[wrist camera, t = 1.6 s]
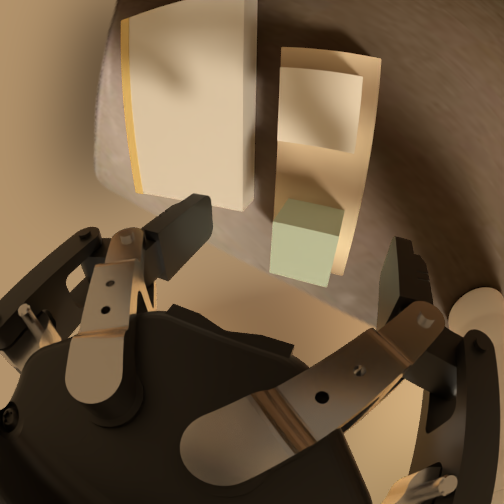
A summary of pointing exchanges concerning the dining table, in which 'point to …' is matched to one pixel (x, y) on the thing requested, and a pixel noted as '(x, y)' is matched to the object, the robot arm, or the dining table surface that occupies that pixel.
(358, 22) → the dining table surface
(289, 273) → the block
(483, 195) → the dining table surface
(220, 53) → the dock
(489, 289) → the water bottle
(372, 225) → the dining table surface
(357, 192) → the pallet
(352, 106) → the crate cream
